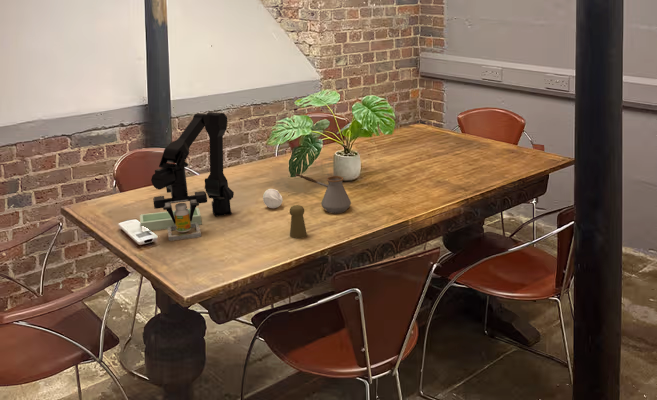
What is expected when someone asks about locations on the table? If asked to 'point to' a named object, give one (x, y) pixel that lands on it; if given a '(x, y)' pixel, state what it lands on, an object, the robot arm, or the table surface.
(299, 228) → the brown pawn
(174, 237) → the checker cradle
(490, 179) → the table surface
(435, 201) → the table surface
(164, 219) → the trough
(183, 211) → the supplement bottle
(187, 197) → the robot arm
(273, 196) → the crumpled paper ball
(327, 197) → the coffee pot
